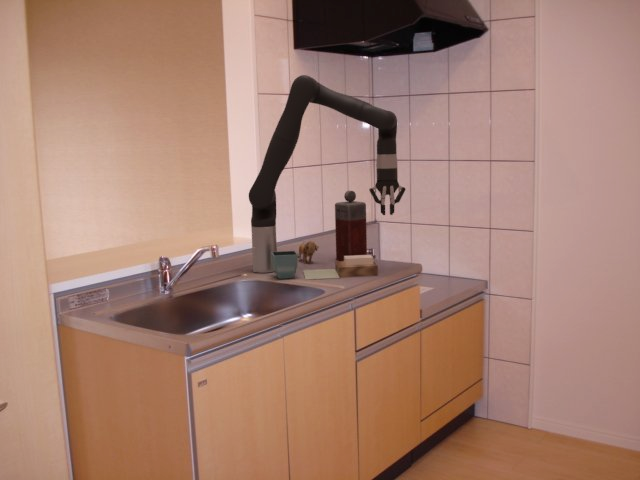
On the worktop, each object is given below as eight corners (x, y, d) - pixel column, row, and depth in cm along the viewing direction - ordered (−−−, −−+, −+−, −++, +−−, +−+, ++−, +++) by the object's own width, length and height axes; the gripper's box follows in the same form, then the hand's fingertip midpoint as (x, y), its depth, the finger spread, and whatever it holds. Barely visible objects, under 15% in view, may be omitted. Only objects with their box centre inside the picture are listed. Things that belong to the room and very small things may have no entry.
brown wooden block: (338, 277, 257) (338, 267, 257) (335, 270, 269) (335, 261, 269) (377, 275, 259) (377, 265, 258) (372, 268, 270) (372, 259, 270)
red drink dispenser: (349, 256, 297) (348, 188, 292) (367, 260, 288) (366, 190, 283) (332, 259, 291) (330, 190, 287) (349, 263, 283) (348, 192, 278)
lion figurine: (320, 263, 284) (320, 241, 283) (308, 265, 282) (308, 242, 280) (302, 258, 297) (302, 236, 296) (291, 259, 294) (290, 238, 293)
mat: (305, 279, 255) (305, 279, 254) (303, 271, 270) (302, 270, 270) (339, 278, 256) (339, 277, 255) (334, 269, 271) (334, 268, 271)
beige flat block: (346, 265, 260) (345, 258, 260) (344, 262, 266) (343, 255, 266) (373, 264, 261) (373, 257, 261) (370, 261, 267) (370, 254, 266)
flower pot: (295, 274, 265) (294, 250, 264) (299, 279, 256) (298, 254, 255) (271, 275, 263) (271, 251, 262) (274, 280, 255) (273, 255, 253)
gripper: (369, 168, 255) (370, 216, 257) (408, 166, 256) (408, 215, 259) (366, 167, 262) (367, 214, 265) (403, 165, 263) (404, 212, 266)
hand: (387, 214), depth 262 cm, fingers closed
